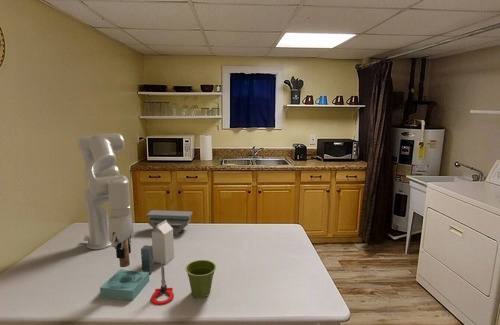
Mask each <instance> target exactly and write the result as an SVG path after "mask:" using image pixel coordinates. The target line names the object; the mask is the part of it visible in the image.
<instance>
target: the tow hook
mask: <svg viewBox="0 0 500 325" xmlns="http://www.w3.org/2000/svg"><path fill="white" fill-rule="evenodd" d="M160 264H161V265H160V266H161V267H160V272H161V274H160V275H161V283H160V284H161V285H160V288H155V291H154V293H153V294H151V298H150V299H151V303H152V304H153V305H156V306H162V305H163V306H164V305H167V304H168V303H170V302H171V301H173V300H174V297H175V296H174V292H173V287H168V286H167V283H166V275H165V267H164V264H163V262H162V263H160ZM161 293H165V294H167V295H169V297H168V298H167V299H165V300H158V299H156V298H157V296H159V295H161Z"/></svg>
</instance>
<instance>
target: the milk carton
mask: <svg viewBox="0 0 500 325" xmlns="http://www.w3.org/2000/svg"><path fill="white" fill-rule="evenodd" d="M151 246H153V263H159V264H161V263H162V262H163V265H167V264H168V263H169V262H171V260H173V259H174V258H175V248H174V233H173V228H172V227H171V226H170V225H169V224H168V223H167V220H165V221H163V222H162V223H160V224H158V225H157V226H156V229H153V230H152V231H151Z"/></svg>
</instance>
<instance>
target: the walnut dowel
mask: <svg viewBox="0 0 500 325" xmlns="http://www.w3.org/2000/svg"><path fill="white" fill-rule="evenodd" d="M118 241H119V240H118ZM118 244H119V245H120V243H118ZM123 248H124V250H125V258H124V259H122V258H118V259H119V266H120V268H127V267H129V266H130V265H131V264H130V254H129V248H128V238H127V239H125V240H124V241H123Z"/></svg>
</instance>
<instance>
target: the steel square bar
mask: <svg viewBox="0 0 500 325" xmlns="http://www.w3.org/2000/svg"><path fill="white" fill-rule="evenodd" d="M140 256H141V257H140V258H141V272H149V276H151V275H152V273H154V271H155V270H154V262H153V246H152V245H146V244H145V245H143V246H142V247H141V248H140Z"/></svg>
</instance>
